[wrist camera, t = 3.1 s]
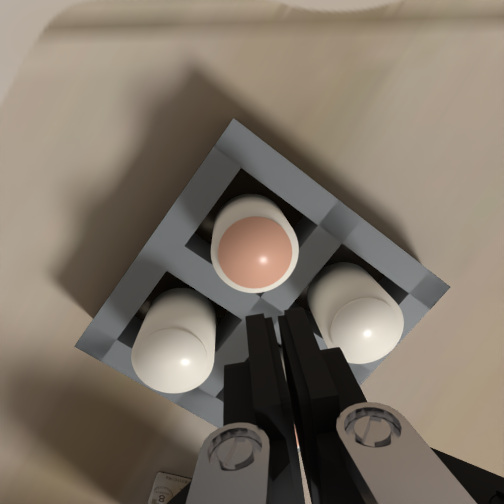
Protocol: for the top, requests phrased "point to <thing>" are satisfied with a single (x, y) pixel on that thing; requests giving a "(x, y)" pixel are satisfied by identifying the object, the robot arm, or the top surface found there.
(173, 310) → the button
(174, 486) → the coffee box
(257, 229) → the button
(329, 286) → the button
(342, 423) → the robot arm
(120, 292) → the gray compartment tray
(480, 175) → the top surface
